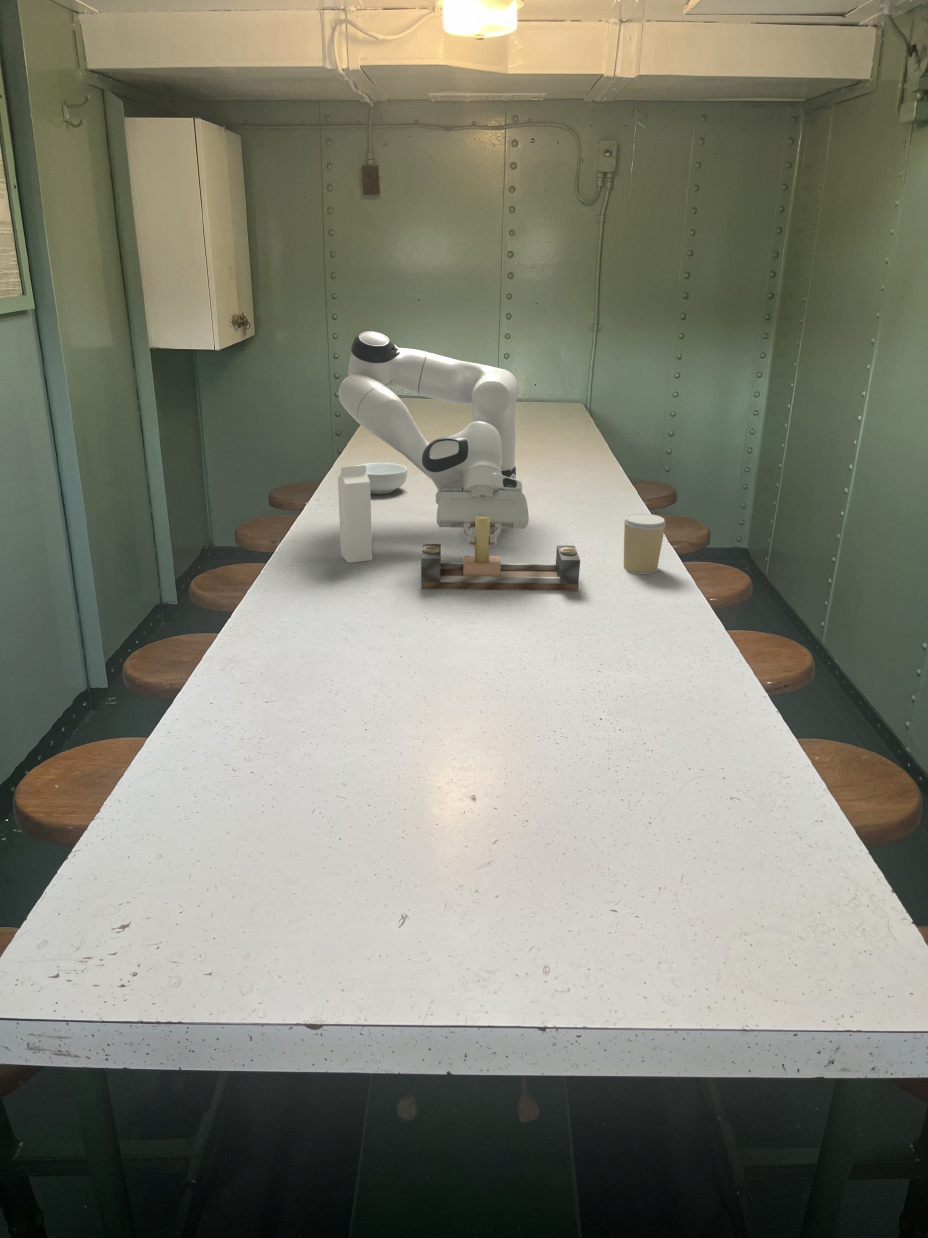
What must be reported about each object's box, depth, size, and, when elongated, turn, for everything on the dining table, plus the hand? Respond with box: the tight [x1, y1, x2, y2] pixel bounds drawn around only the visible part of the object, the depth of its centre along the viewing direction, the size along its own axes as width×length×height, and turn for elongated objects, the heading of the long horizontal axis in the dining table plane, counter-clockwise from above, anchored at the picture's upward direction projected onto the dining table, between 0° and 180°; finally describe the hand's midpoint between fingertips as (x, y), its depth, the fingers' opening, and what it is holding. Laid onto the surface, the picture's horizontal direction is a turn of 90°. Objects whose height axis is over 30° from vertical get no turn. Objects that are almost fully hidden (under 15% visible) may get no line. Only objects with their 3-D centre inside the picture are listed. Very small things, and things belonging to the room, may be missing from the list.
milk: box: [337, 465, 373, 564], centre depth 204 cm, size 6×6×22 cm
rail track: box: [420, 543, 581, 592], centre depth 193 cm, size 34×10×8 cm, turn 90°
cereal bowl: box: [356, 462, 408, 495], centre depth 265 cm, size 17×17×7 cm
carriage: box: [462, 515, 501, 576], centre depth 191 cm, size 8×7×13 cm
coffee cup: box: [623, 513, 667, 575], centre depth 202 cm, size 9×9×12 cm
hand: (482, 543), depth 190 cm, fingers closed on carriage, 3 cm apart
